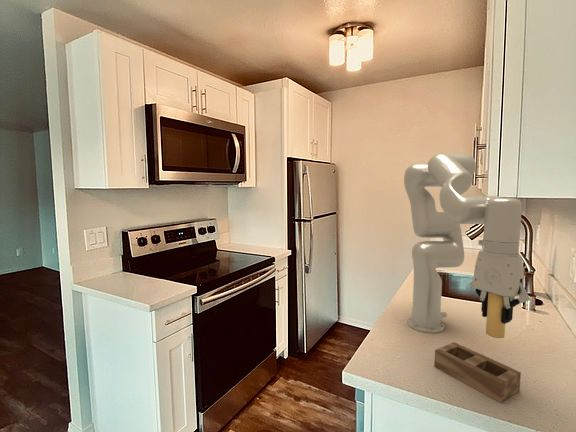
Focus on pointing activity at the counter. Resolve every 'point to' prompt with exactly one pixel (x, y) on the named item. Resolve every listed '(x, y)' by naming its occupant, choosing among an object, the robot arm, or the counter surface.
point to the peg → (495, 316)
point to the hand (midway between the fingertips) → (496, 318)
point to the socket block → (478, 371)
